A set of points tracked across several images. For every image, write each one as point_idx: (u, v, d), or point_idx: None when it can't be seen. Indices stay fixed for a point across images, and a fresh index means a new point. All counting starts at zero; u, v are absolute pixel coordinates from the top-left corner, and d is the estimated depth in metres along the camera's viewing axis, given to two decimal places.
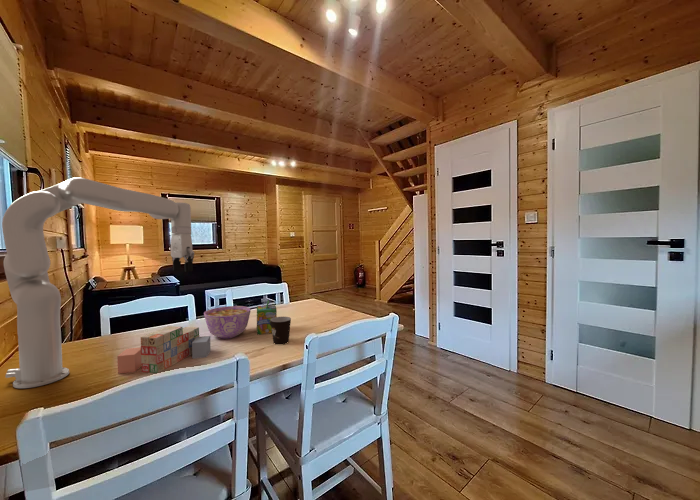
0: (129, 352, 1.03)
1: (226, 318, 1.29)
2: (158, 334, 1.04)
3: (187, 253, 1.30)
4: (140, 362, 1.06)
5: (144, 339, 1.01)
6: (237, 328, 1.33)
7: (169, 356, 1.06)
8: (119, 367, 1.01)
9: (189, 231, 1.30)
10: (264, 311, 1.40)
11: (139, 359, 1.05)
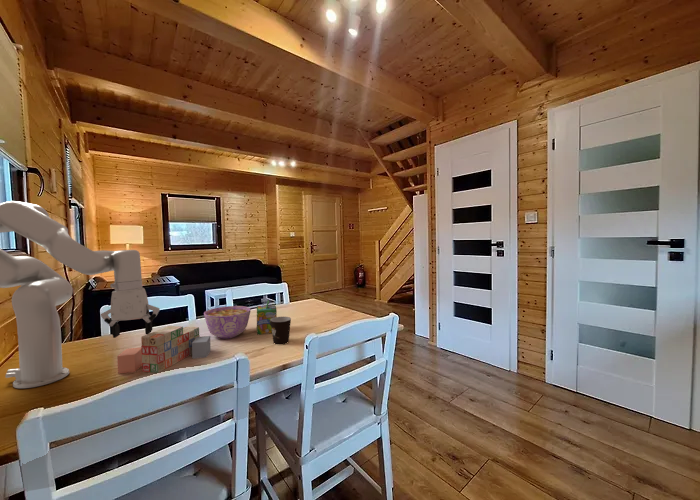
0: (129, 352, 1.03)
1: (226, 318, 1.29)
2: (159, 334, 1.04)
3: None
4: (140, 362, 1.06)
5: (145, 339, 1.01)
6: (237, 328, 1.33)
7: (169, 356, 1.06)
8: (119, 367, 1.01)
9: None
10: (264, 311, 1.40)
11: (139, 359, 1.05)
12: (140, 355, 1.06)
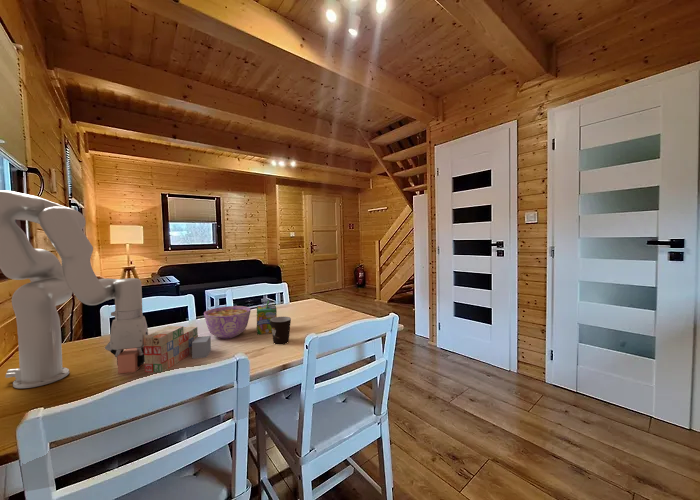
0: (129, 352, 1.03)
1: (226, 318, 1.29)
2: (161, 334, 1.04)
3: None
4: None
5: (147, 339, 1.01)
6: (237, 328, 1.33)
7: (172, 356, 1.06)
8: (119, 367, 1.01)
9: (142, 312, 1.06)
10: (264, 311, 1.40)
11: None
12: None
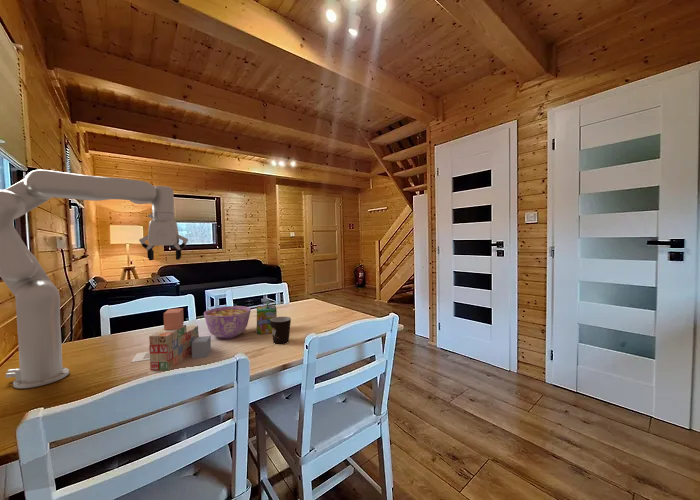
0: (172, 311, 1.11)
1: (226, 318, 1.29)
2: (166, 332, 1.05)
3: None
4: (182, 321, 1.14)
5: (153, 338, 1.02)
6: (237, 328, 1.33)
7: (176, 354, 1.08)
8: (165, 324, 1.08)
9: None
10: (264, 311, 1.40)
11: (181, 318, 1.13)
12: (182, 315, 1.14)
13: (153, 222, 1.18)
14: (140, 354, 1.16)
